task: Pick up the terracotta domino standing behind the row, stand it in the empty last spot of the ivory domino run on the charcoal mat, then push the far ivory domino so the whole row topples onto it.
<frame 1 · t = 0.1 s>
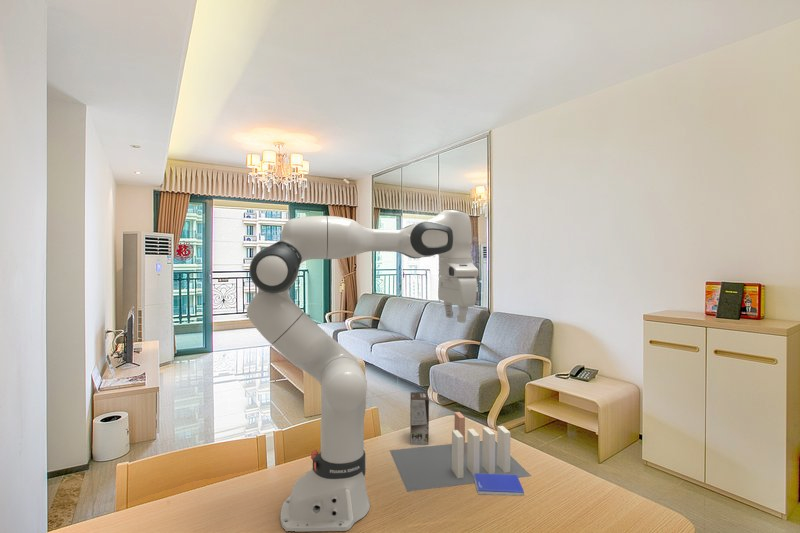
hand: (455, 319, 111), 48 cm above the table, tool pointing down, fingers open, 8 cm apart
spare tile: (459, 450, 136), resting on mat
domino 3: (473, 471, 122), resting on mat
domino 1: (503, 468, 124), resting on mat
mat: (456, 463, 128), on the table
domino 4: (457, 473, 121), resting on mat
hard drive: (497, 487, 114), on the table, touching mat
domino 2: (488, 469, 123), resting on mat
coffee box: (419, 441, 144), on the table
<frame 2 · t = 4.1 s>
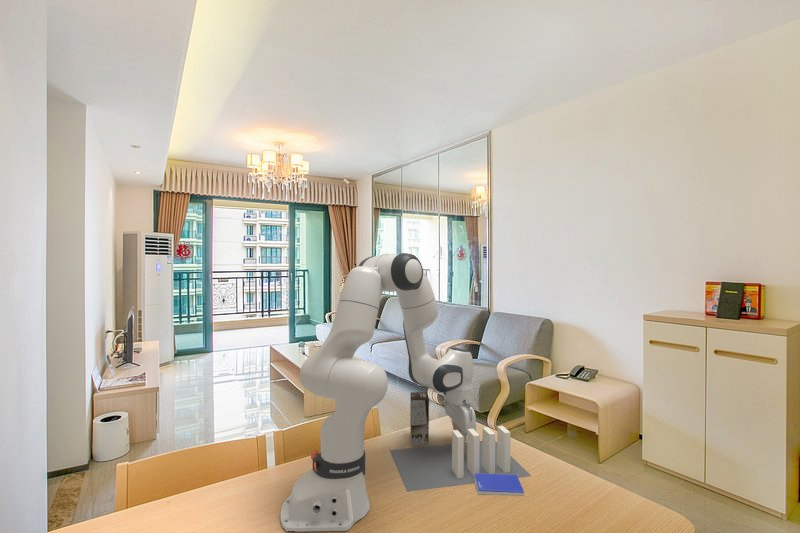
hand: (459, 436, 136), 5 cm above the table, tool pointing down, fingers closed on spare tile, 5 cm apart
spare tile: (459, 450, 136), resting on mat, touching gripper
everything else where it was.
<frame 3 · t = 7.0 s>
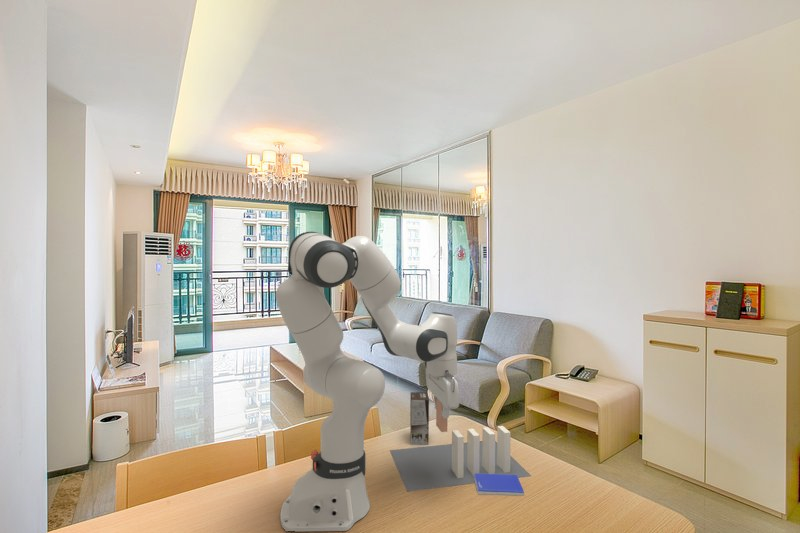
hand: (441, 413, 120), 19 cm above the table, tool pointing down, fingers closed on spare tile, 5 cm apart
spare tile: (441, 428, 120), point 14 cm above the table, touching gripper
everything else where it was.
when the fingers open (6 cm above the table, at t = 9.8 s): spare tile drops 1 cm, resting on mat.
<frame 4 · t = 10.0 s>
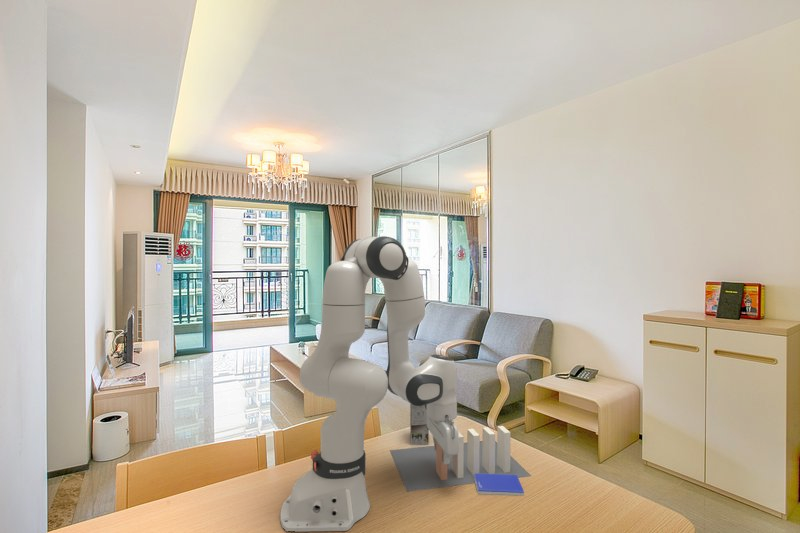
hand: (441, 456, 120), 6 cm above the table, tool pointing down, fingers open, 7 cm apart
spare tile: (441, 475, 120), resting on mat
everything else where it was.
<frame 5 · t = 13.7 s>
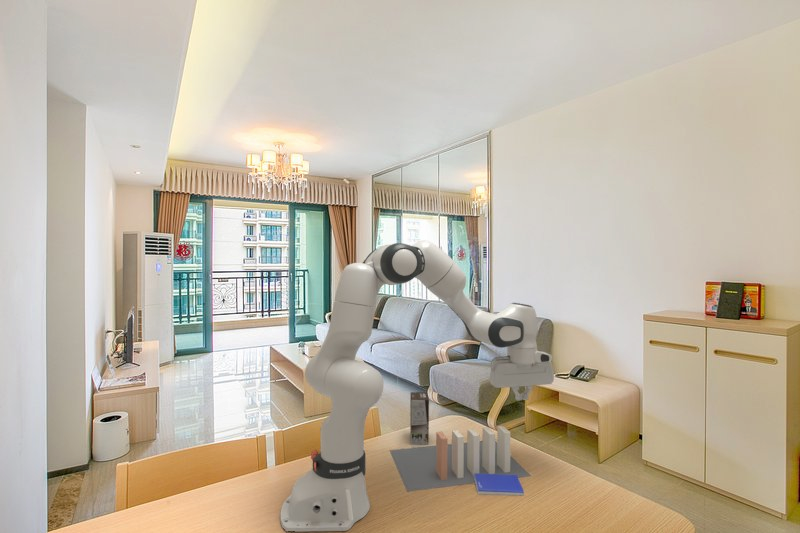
hand: (521, 399, 125), 21 cm above the table, tool pointing down, fingers closed
nothing on the table moved.
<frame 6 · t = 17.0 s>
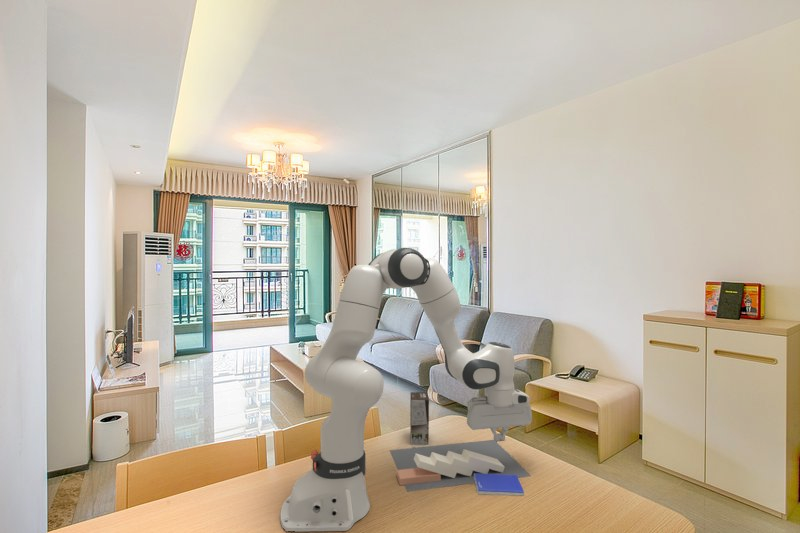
hand: (499, 440, 124), 9 cm above the table, tool pointing down, fingers closed
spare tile: (437, 472, 119), point 1 cm above the table, tilted 90°, touching domino 4, mat
domino 3: (468, 469, 121), point 1 cm above the table, tilted 68°, touching domino 2, domino 4, mat
domino 1: (499, 465, 124), point 1 cm above the table, tilted 69°, touching domino 2, mat
domino 4: (452, 471, 120), point 1 cm above the table, tilted 68°, touching domino 3, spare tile
domino 2: (484, 467, 123), point 1 cm above the table, tilted 69°, touching domino 1, domino 3, mat
everything else where it was.
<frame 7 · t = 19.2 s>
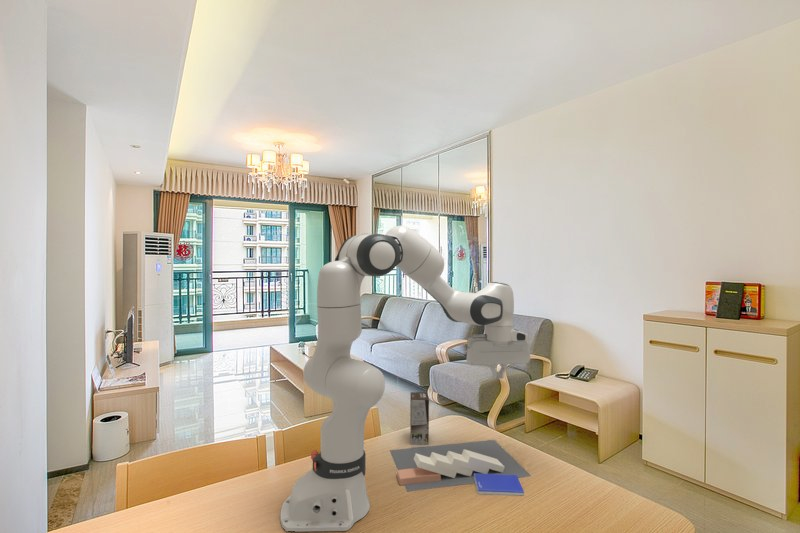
hand: (497, 378, 126), 27 cm above the table, tool pointing down, fingers closed
nothing on the table moved.
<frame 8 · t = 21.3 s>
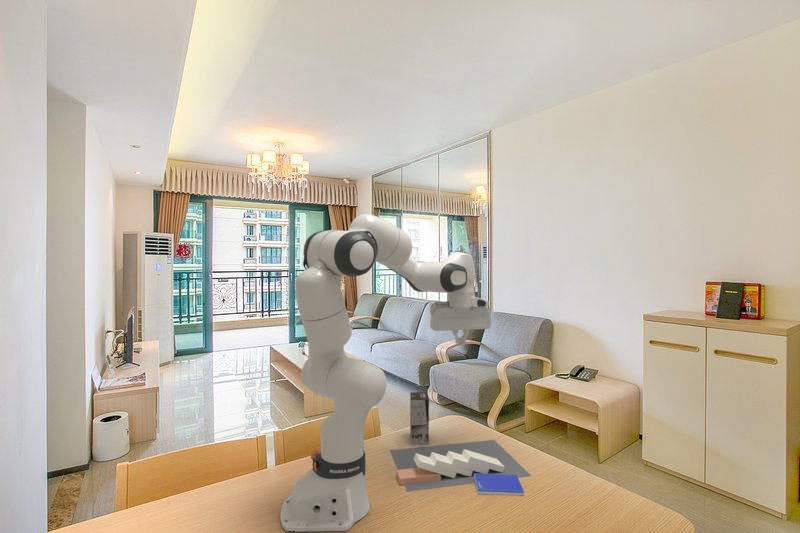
hand: (460, 343, 132), 37 cm above the table, tool pointing down, fingers closed
nothing on the table moved.
at the end: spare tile tilted 90°; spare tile inside the target area (0.8 cm from its centre), point 1.3 cm above the table; the gripper is holding nothing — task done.
